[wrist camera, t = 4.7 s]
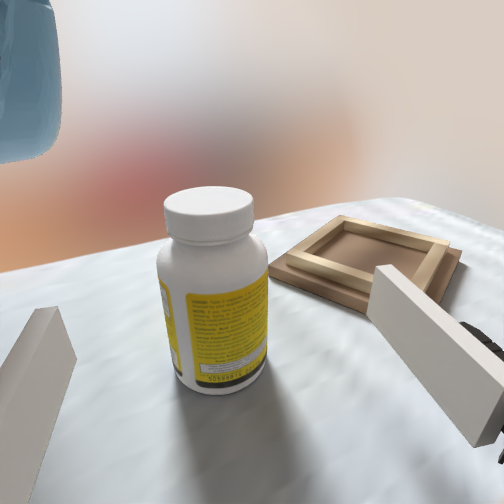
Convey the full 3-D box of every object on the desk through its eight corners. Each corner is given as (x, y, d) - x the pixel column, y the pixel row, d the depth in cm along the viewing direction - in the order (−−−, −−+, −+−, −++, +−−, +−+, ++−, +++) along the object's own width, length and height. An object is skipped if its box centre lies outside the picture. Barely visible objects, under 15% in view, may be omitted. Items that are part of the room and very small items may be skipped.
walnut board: (268, 275, 27) (268, 254, 26) (332, 227, 35) (334, 209, 34) (424, 337, 21) (432, 312, 20) (458, 260, 29) (465, 240, 28)
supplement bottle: (283, 348, 20) (291, 192, 15) (229, 417, 16) (217, 235, 11) (214, 316, 23) (202, 175, 18) (153, 369, 19) (117, 205, 14)
